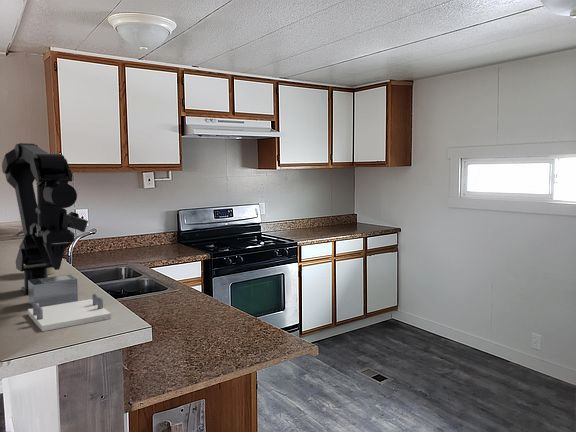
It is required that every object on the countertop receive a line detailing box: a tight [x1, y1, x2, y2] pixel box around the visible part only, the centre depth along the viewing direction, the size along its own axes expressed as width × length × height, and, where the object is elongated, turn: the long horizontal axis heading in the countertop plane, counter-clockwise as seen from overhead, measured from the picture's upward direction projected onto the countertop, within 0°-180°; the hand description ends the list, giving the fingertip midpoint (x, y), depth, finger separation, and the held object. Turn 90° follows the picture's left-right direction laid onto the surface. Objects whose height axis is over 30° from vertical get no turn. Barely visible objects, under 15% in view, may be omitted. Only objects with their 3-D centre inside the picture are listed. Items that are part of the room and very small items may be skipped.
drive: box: [28, 274, 79, 307], centre depth 120 cm, size 6×10×6 cm, turn 130°
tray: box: [27, 293, 112, 332], centre depth 109 cm, size 14×14×4 cm
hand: (52, 266), depth 119 cm, fingers open, 9 cm apart
